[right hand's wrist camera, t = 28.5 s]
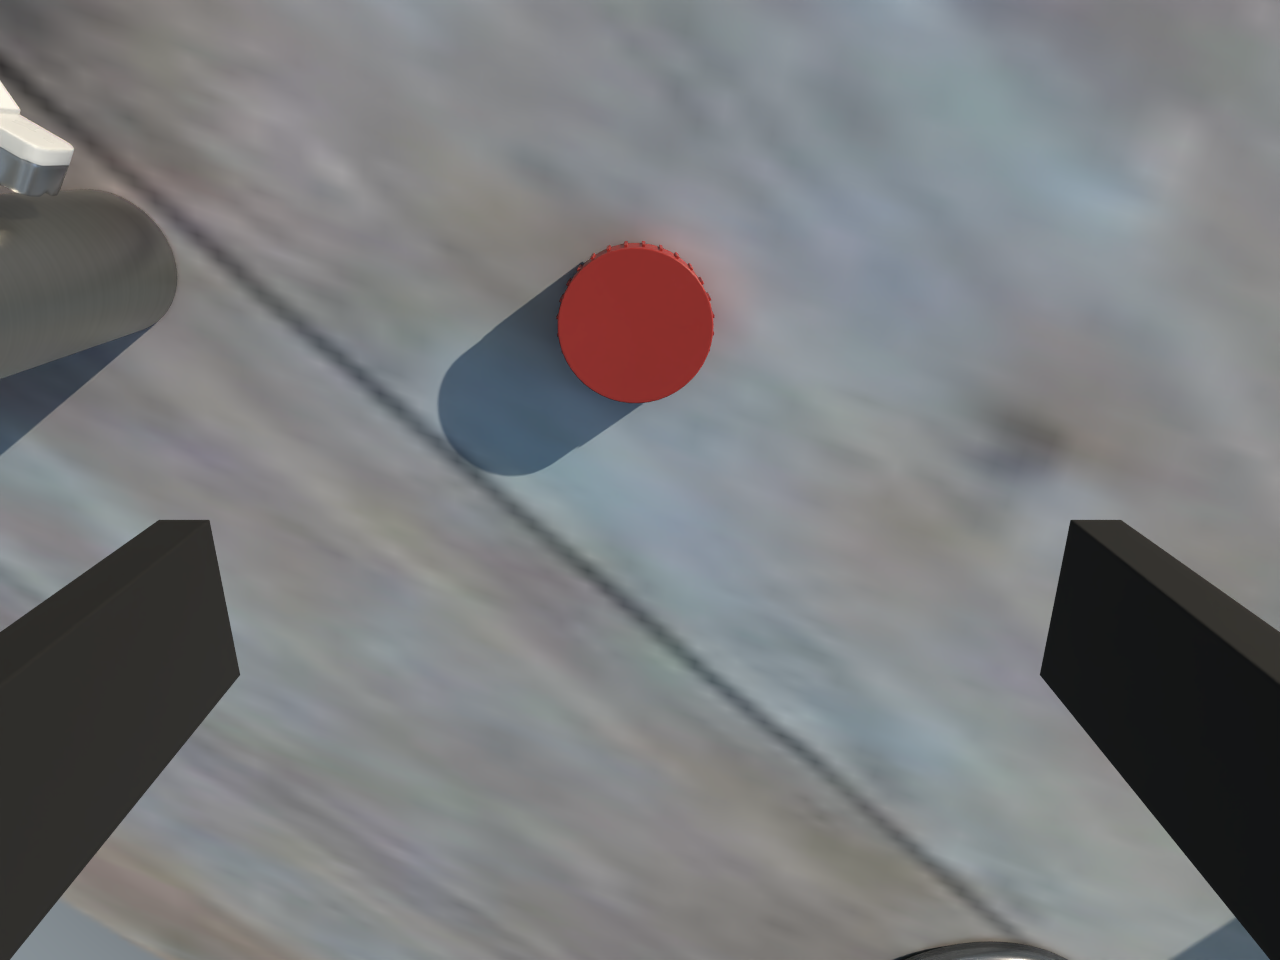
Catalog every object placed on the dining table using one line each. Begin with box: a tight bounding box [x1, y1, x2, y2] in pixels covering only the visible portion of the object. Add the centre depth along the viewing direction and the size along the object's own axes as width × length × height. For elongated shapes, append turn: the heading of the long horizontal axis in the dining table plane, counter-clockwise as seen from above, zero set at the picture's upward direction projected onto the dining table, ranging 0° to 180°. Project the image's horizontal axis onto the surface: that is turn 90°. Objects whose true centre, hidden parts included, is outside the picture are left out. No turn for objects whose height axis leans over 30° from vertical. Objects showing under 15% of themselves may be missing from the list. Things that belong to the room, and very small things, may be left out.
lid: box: [557, 241, 714, 403], centre depth 30 cm, size 6×6×2 cm
